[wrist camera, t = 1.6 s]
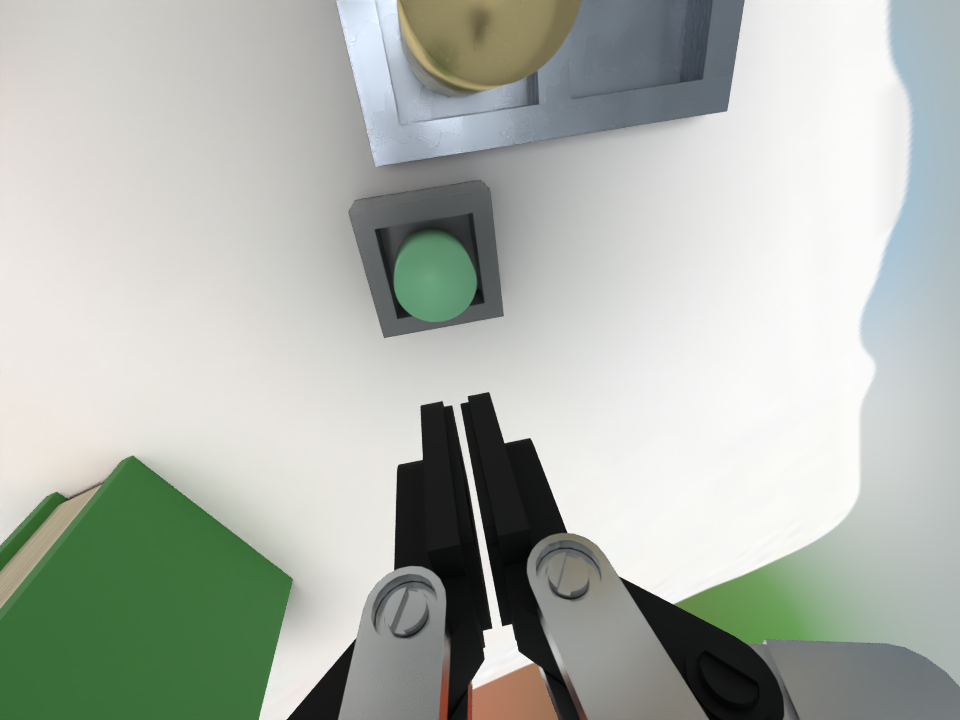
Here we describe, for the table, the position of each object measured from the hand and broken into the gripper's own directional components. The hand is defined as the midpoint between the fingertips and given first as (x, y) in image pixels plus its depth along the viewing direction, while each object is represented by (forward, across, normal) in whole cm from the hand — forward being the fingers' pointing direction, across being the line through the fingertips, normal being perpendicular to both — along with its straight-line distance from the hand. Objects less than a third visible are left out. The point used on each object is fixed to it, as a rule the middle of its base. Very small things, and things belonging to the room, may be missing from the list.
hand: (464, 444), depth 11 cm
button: (+14, 0, 0) cm, 14 cm away
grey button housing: (+17, 0, 0) cm, 17 cm away
